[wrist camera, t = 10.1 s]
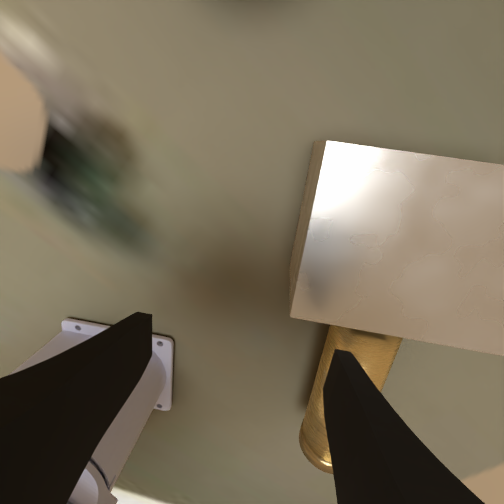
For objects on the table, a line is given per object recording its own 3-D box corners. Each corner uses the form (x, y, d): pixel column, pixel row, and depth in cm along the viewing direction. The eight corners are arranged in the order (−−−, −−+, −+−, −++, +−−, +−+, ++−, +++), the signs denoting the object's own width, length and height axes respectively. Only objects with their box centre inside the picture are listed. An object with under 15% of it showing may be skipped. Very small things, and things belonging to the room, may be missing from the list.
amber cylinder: (298, 413, 23) (299, 466, 19) (329, 297, 19) (338, 335, 15) (348, 424, 23) (360, 480, 19) (391, 308, 19) (416, 350, 15)
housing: (289, 264, 20) (289, 317, 14) (313, 141, 17) (327, 140, 11) (438, 289, 19) (506, 356, 13) (491, 165, 16) (610, 179, 10)
